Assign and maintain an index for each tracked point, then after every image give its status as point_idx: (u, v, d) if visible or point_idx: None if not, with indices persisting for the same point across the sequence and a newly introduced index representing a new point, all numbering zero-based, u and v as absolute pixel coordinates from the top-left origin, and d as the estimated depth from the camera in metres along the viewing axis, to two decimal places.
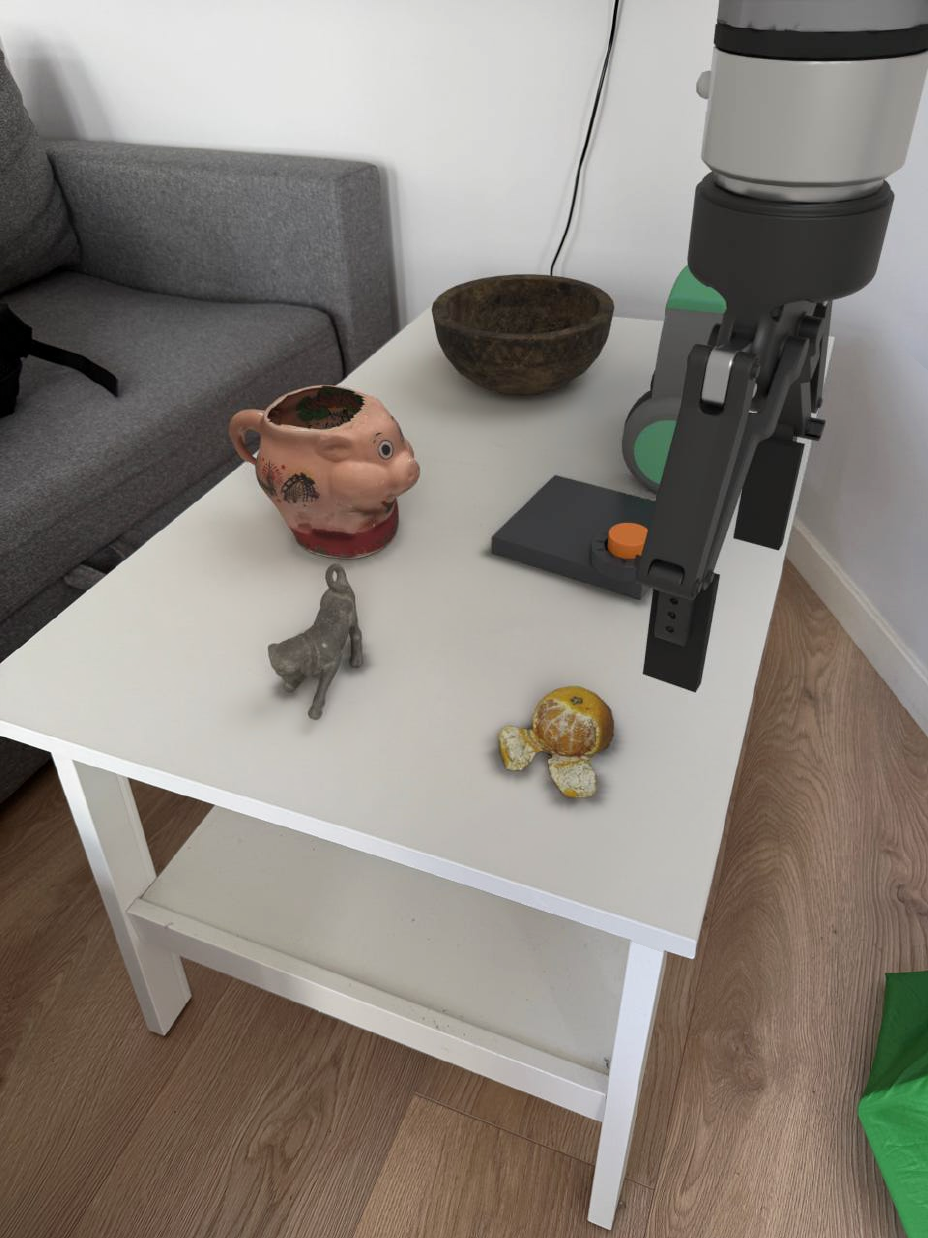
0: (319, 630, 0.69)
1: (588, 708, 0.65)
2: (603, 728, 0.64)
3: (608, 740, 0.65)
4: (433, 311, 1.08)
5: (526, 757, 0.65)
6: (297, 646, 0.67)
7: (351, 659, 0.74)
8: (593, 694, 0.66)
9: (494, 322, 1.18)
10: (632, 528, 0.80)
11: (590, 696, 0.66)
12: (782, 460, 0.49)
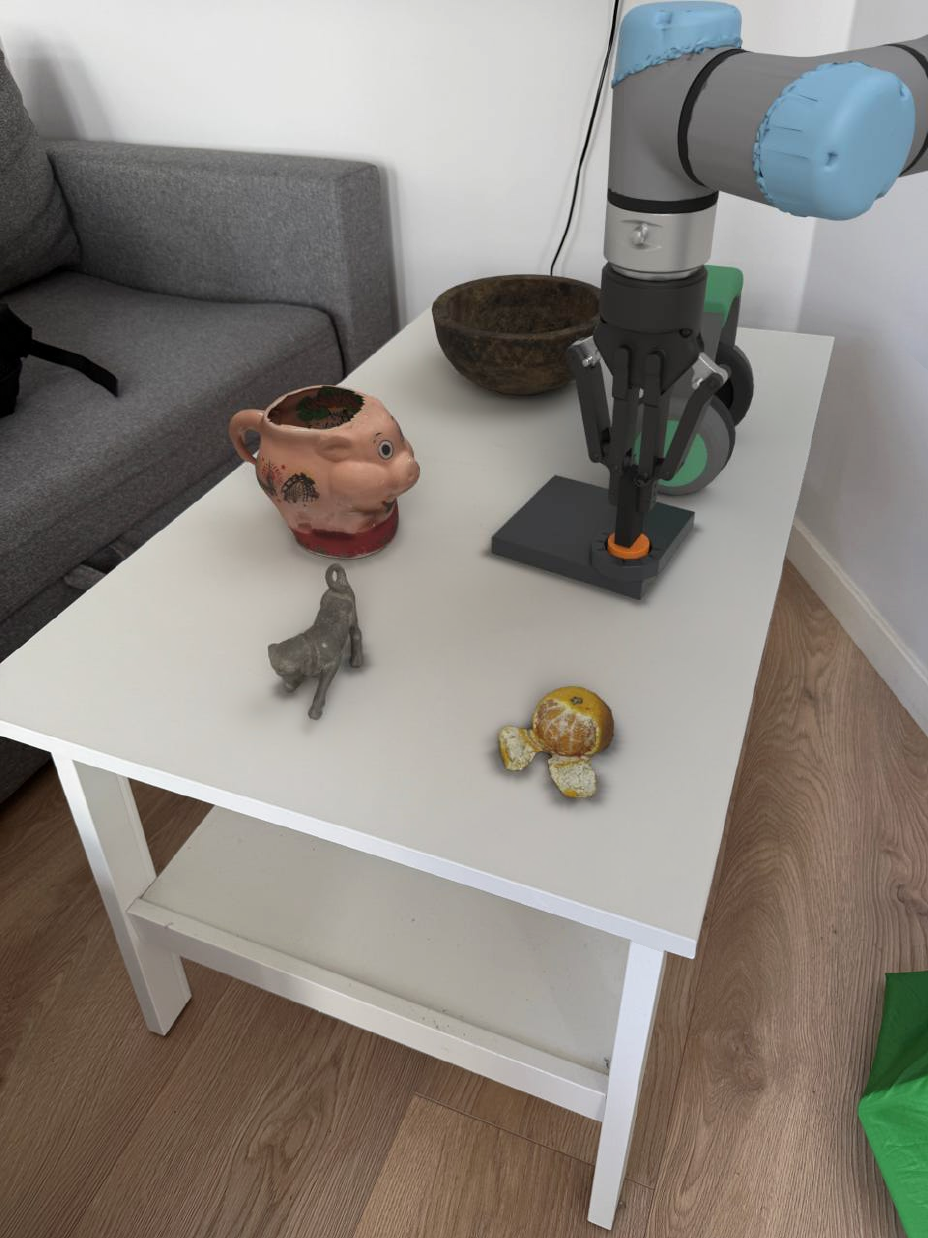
0: (319, 630, 0.69)
1: (588, 708, 0.65)
2: (603, 728, 0.64)
3: (608, 740, 0.65)
4: (433, 311, 1.08)
5: (526, 757, 0.65)
6: (297, 646, 0.67)
7: (351, 659, 0.74)
8: (593, 694, 0.66)
9: (494, 322, 1.18)
10: None
11: (590, 696, 0.66)
12: None
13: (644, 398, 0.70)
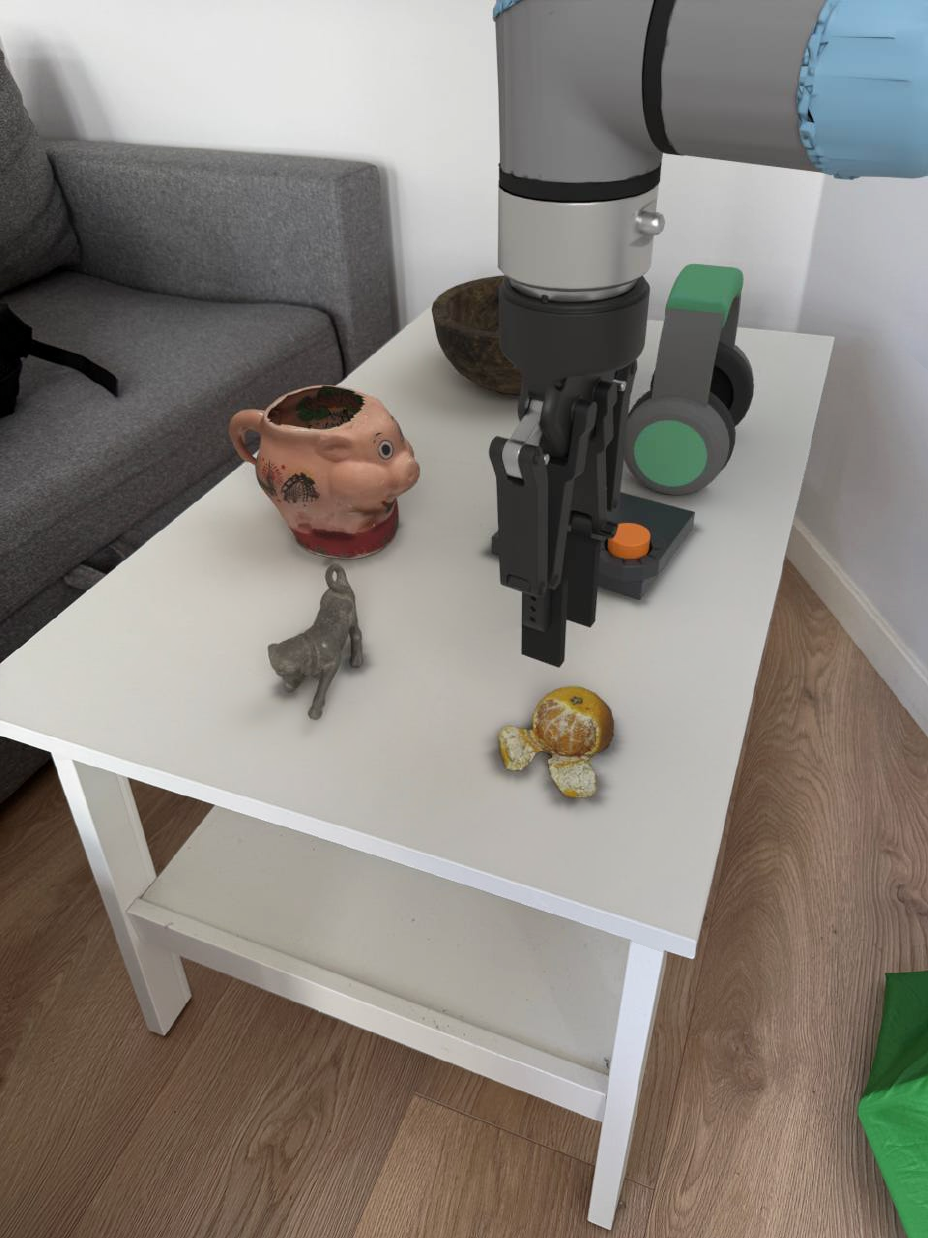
0: (319, 631, 0.69)
1: (588, 708, 0.65)
2: (603, 728, 0.64)
3: (608, 740, 0.65)
4: (433, 311, 1.08)
5: (526, 757, 0.65)
6: (297, 646, 0.67)
7: (351, 659, 0.74)
8: (593, 694, 0.66)
9: (494, 322, 1.18)
10: (632, 528, 0.80)
11: (590, 696, 0.66)
12: None
13: (605, 443, 0.51)
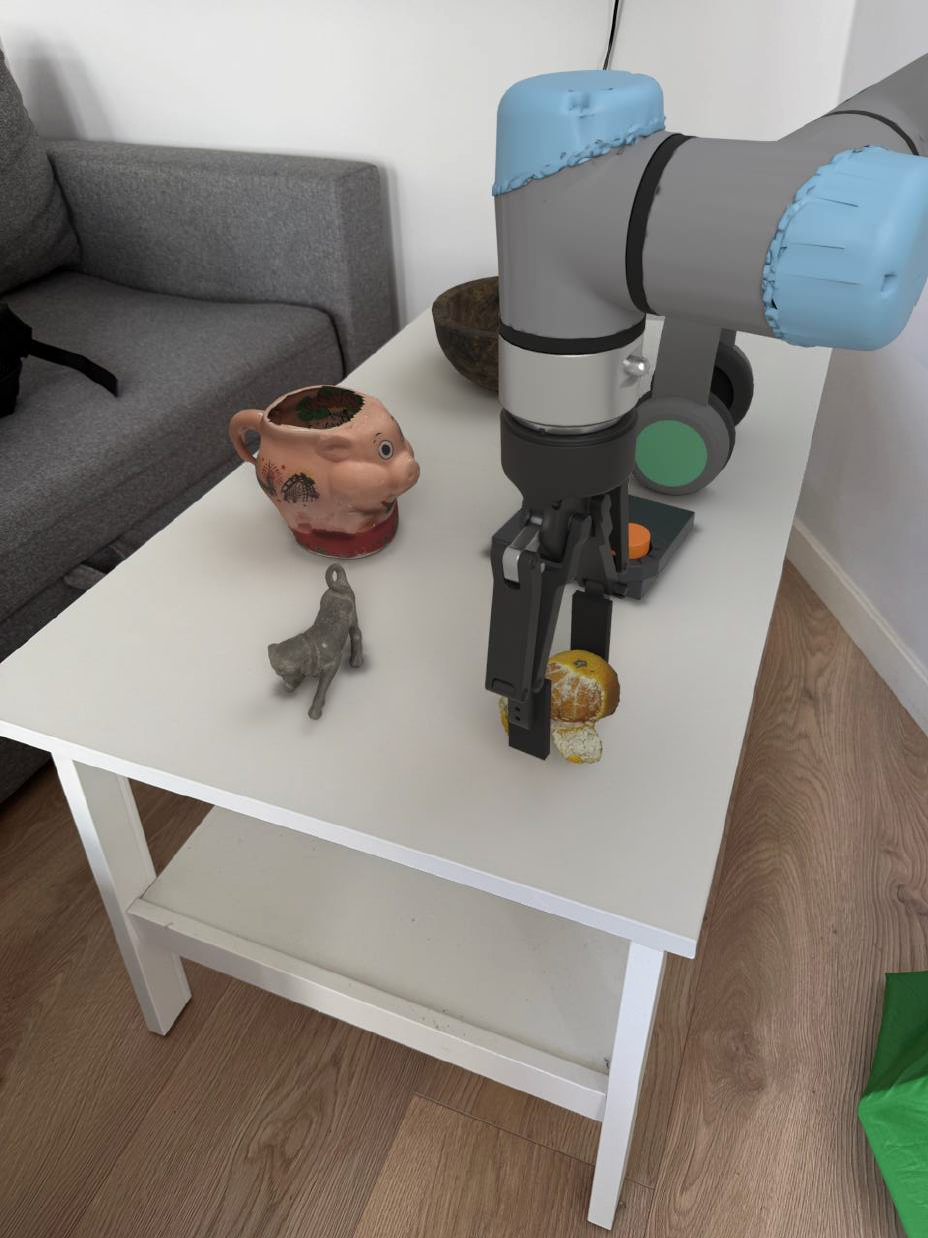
0: (319, 630, 0.69)
1: (593, 671, 0.61)
2: (609, 691, 0.61)
3: (614, 705, 0.62)
4: (433, 311, 1.08)
5: None
6: (297, 646, 0.67)
7: (351, 659, 0.74)
8: (598, 657, 0.63)
9: (494, 322, 1.18)
10: (632, 528, 0.80)
11: (595, 659, 0.62)
12: None
13: (605, 538, 0.56)
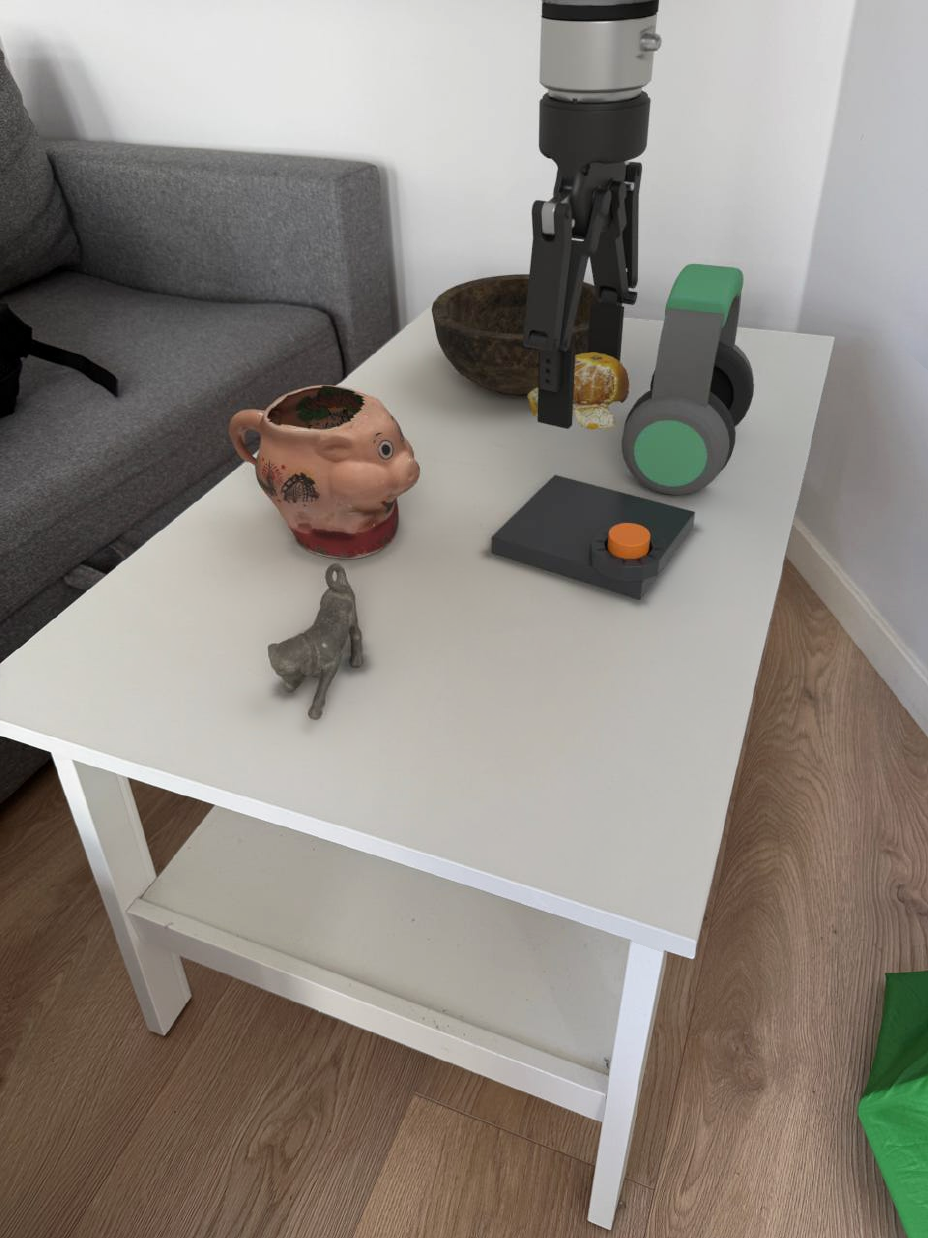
0: (319, 630, 0.69)
1: (607, 361, 0.74)
2: (620, 378, 0.74)
3: (624, 392, 0.74)
4: (433, 311, 1.08)
5: None
6: (297, 646, 0.67)
7: (351, 659, 0.74)
8: (611, 356, 0.75)
9: (494, 322, 1.18)
10: (632, 528, 0.80)
11: (608, 356, 0.75)
12: None
13: (620, 229, 0.68)
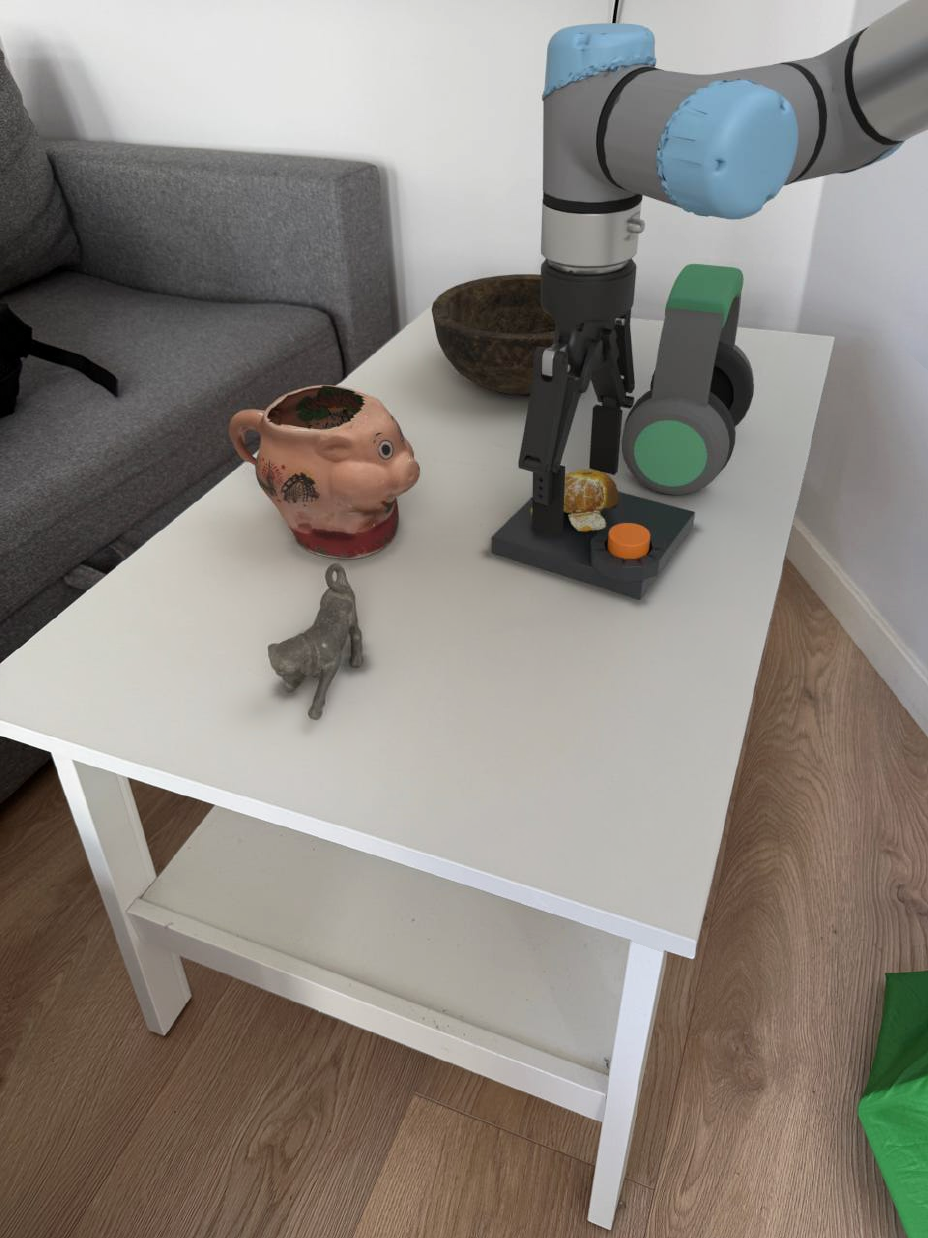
0: (319, 631, 0.69)
1: (596, 475, 0.85)
2: (608, 487, 0.84)
3: (614, 500, 0.85)
4: (433, 311, 1.08)
5: None
6: (297, 646, 0.67)
7: (351, 659, 0.74)
8: None
9: (494, 322, 1.18)
10: (632, 528, 0.80)
11: (597, 471, 0.86)
12: None
13: (614, 362, 0.79)
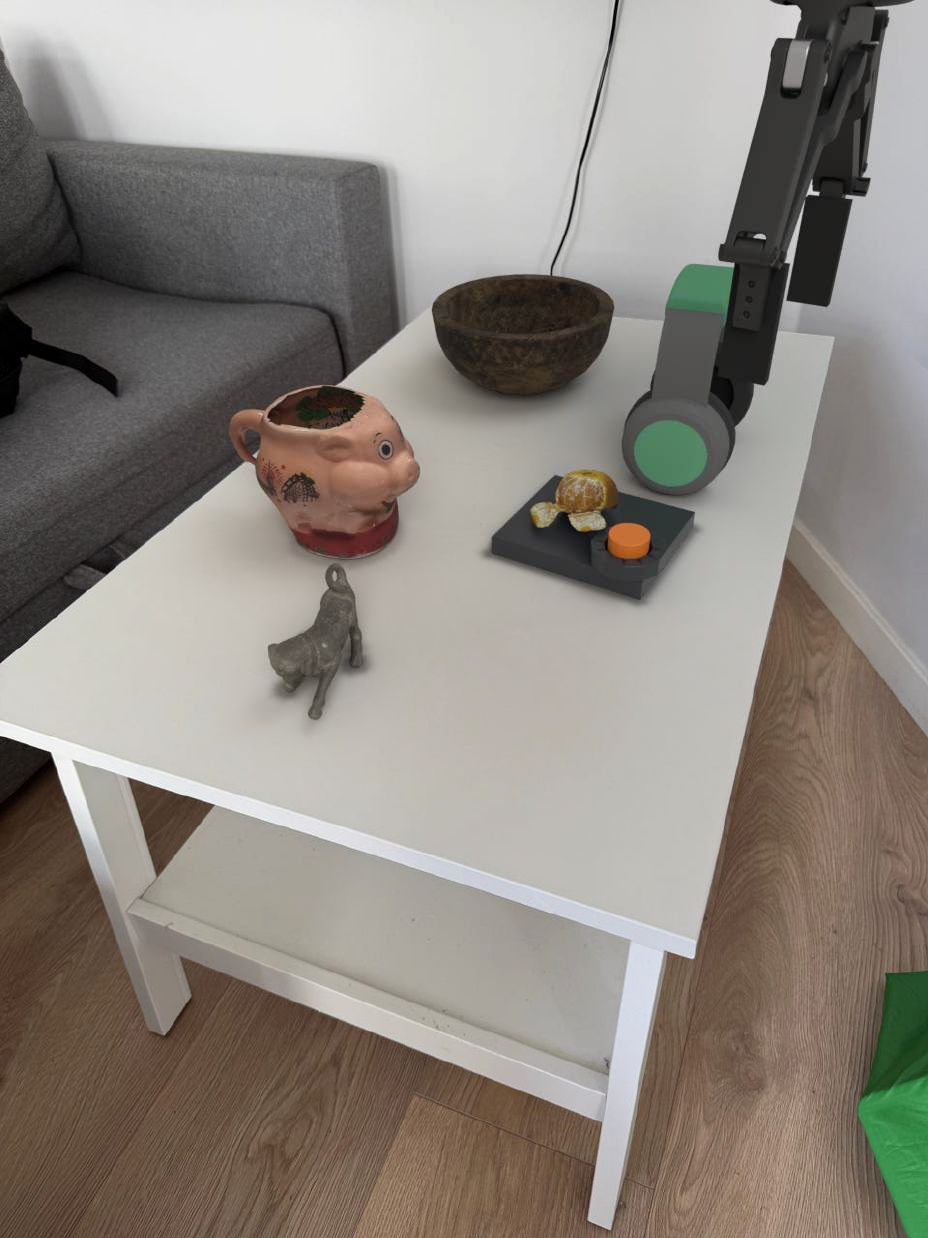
0: (319, 630, 0.69)
1: (596, 475, 0.85)
2: (608, 487, 0.84)
3: (614, 500, 0.85)
4: (433, 311, 1.08)
5: (551, 517, 0.85)
6: (297, 646, 0.67)
7: (351, 659, 0.74)
8: None
9: (494, 322, 1.18)
10: (632, 528, 0.80)
11: (597, 471, 0.86)
12: None
13: (864, 108, 0.50)
